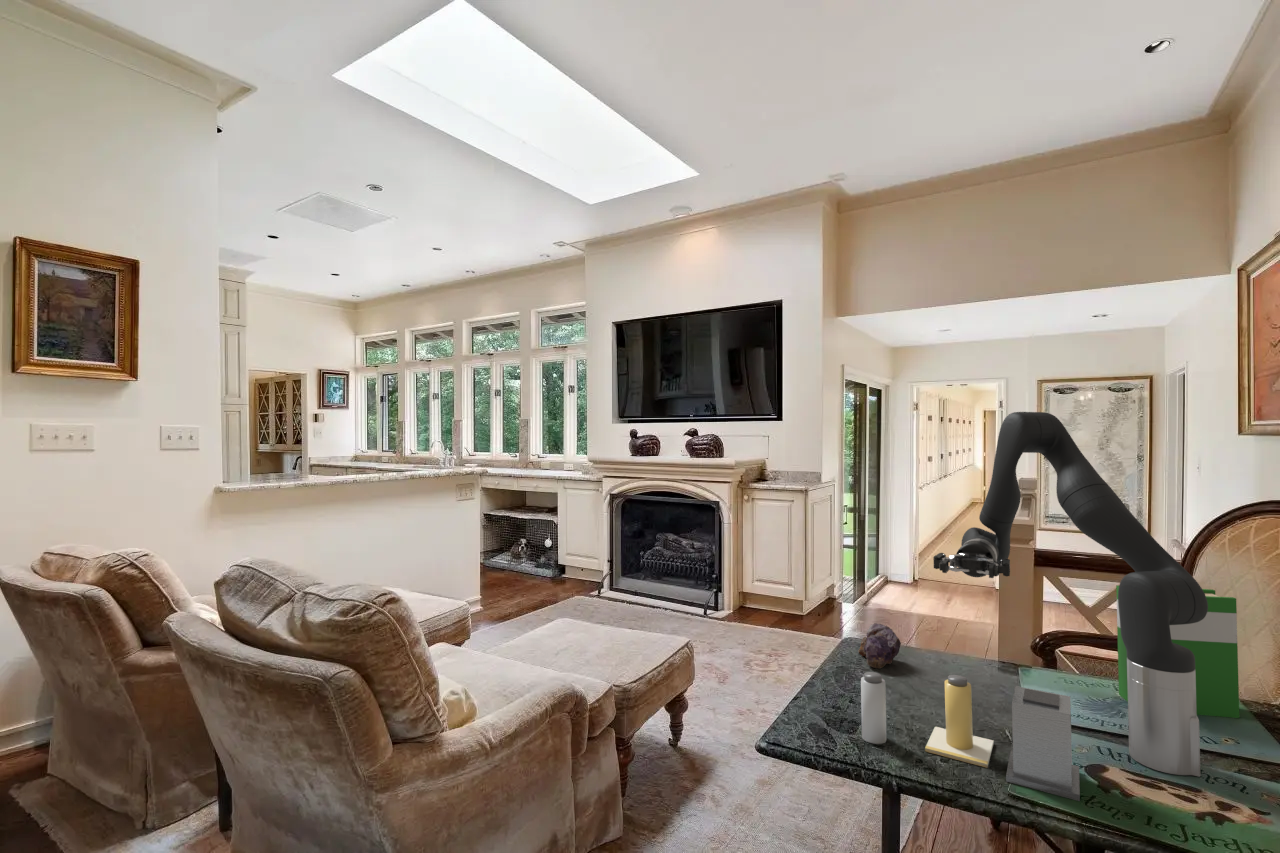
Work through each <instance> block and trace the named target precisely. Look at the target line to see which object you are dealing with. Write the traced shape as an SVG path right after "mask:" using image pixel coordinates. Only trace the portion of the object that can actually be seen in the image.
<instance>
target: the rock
mask: <svg viewBox="0 0 1280 853" xmlns="http://www.w3.org/2000/svg"><path fill="white" fill-rule="evenodd" d="M901 644H902V643H901V640H900V638H899V637H898V636H897V635H896V633H895V632H894V630H893V629H892V628H891V627H889V626H887V625H884V624H881V623H877V622H875V623H873V624H870V626H868V629H867V631H866V636H864V637H863V638H862V639H861V641H860V647H859V649H858V654H859V655H860V656H862V657H863V656H865V658H866V661H865V662H866V665H867V666H869V667H872V668H873V669H882V668H884V667H885V666H886V665H887V664H888V665H891V664H892V662H893V660H894V658H896V656H898V654H899V652H900V649H901Z"/></svg>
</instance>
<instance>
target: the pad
mask: <svg viewBox="0 0 1280 853" xmlns="http://www.w3.org/2000/svg"><path fill="white" fill-rule="evenodd" d="M994 743H995V740H994V739H993V740H992V739H989V738H985V737H980V736H976V735H973V748H972V749H968V750H963V749H957V748H954V747H952V746H950V745H948V744H947V742H946V728H943V727H939V726H934V728H933V730H932V732H931V733H930V737H929V739H928V741H927V743H926V745H925V748H924V751H925V752H926V753H930V754H933V755H936V756H942V757H944V758H947V759H953V760H956V761H961V762H963V763H967V764H971V765H975V766H979V767H983V768H986V769H988V768H989V764H990V759H991V755H992V752H993V747H994Z"/></svg>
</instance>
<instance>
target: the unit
mask: <svg viewBox="0 0 1280 853" xmlns="http://www.w3.org/2000/svg"><path fill="white" fill-rule="evenodd" d="M1071 704H1072V703H1071V696H1069V695H1065V694H1064V695H1063V694H1059V693H1054V692H1049V691H1043V690H1039V689H1033V688H1029V687H1023V686H1019V685H1018V686H1017V685H1015V687H1014V692H1013V697H1012V700H1011V717H1012V718H1011V719H1012V720H1011V722H1012V727H1011V728H1012V749H1011V750H1010V753H1009V757H1008V763H1007V768H1006V775H1005V781H1006V783H1011V784H1015V785H1019V786H1021V787H1026V788H1030V789H1033V790H1037V791H1041V792H1045V793H1047V794H1051V795H1054V796H1058V797H1062V798H1066V799H1069V800H1073V801H1078V802H1080V800H1081V798H1080V797H1081V795H1080V794H1081V793H1080V792H1081V791H1080V787H1081V786H1080V766H1079V765H1075V764H1073V760H1072V759H1073V756H1072V753H1073V752H1072V751H1073V750H1072V716H1071V715H1072V714H1071V712H1072V711H1071V708H1072V707H1071Z"/></svg>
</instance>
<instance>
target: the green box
mask: <svg viewBox="0 0 1280 853" xmlns="http://www.w3.org/2000/svg"><path fill="white" fill-rule="evenodd" d="M1119 585H1120V584H1119ZM1119 585H1116V626H1117V627H1116V628H1117V629H1116V630H1117V632H1116V633H1117V634H1116V635H1117V666H1118V667H1117V668H1118V669H1117V670H1118V674H1117V675H1118V696H1120V697H1121V698H1123V699H1124V700H1125V701H1126V702H1127V703H1128V685H1127V651H1126V647H1125V645H1124V643H1123V640H1122V636H1121V629H1120V616H1119V606H1118V590H1119ZM1202 590H1203V591H1204V593H1205V596H1206V599H1207V603H1208V612H1207V614H1206V616H1205V618H1204V619H1203V620H1201V621H1199V622H1196V623H1191V624H1182V625H1170V634H1171V640H1172V642H1173V643H1175V644H1178V645H1181V646H1183V647H1186V648H1187V649H1189V650H1190V651H1192V652H1193V654H1194V656H1195V674H1196V713H1197V716H1210V717H1220V718H1221V717H1223V718H1234V719H1240V697H1239V696H1240V694H1239V693H1240V689H1239V688H1240V687H1239V686H1240V685H1239V654H1238V648H1239V646H1238V618H1237V617H1238V613H1237V609H1238V608H1237V598H1236V597H1232V596H1231V597H1230V596H1219V595H1217V594H1216V590H1214V589H1210V588H1209V589H1207V588H1202Z"/></svg>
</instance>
